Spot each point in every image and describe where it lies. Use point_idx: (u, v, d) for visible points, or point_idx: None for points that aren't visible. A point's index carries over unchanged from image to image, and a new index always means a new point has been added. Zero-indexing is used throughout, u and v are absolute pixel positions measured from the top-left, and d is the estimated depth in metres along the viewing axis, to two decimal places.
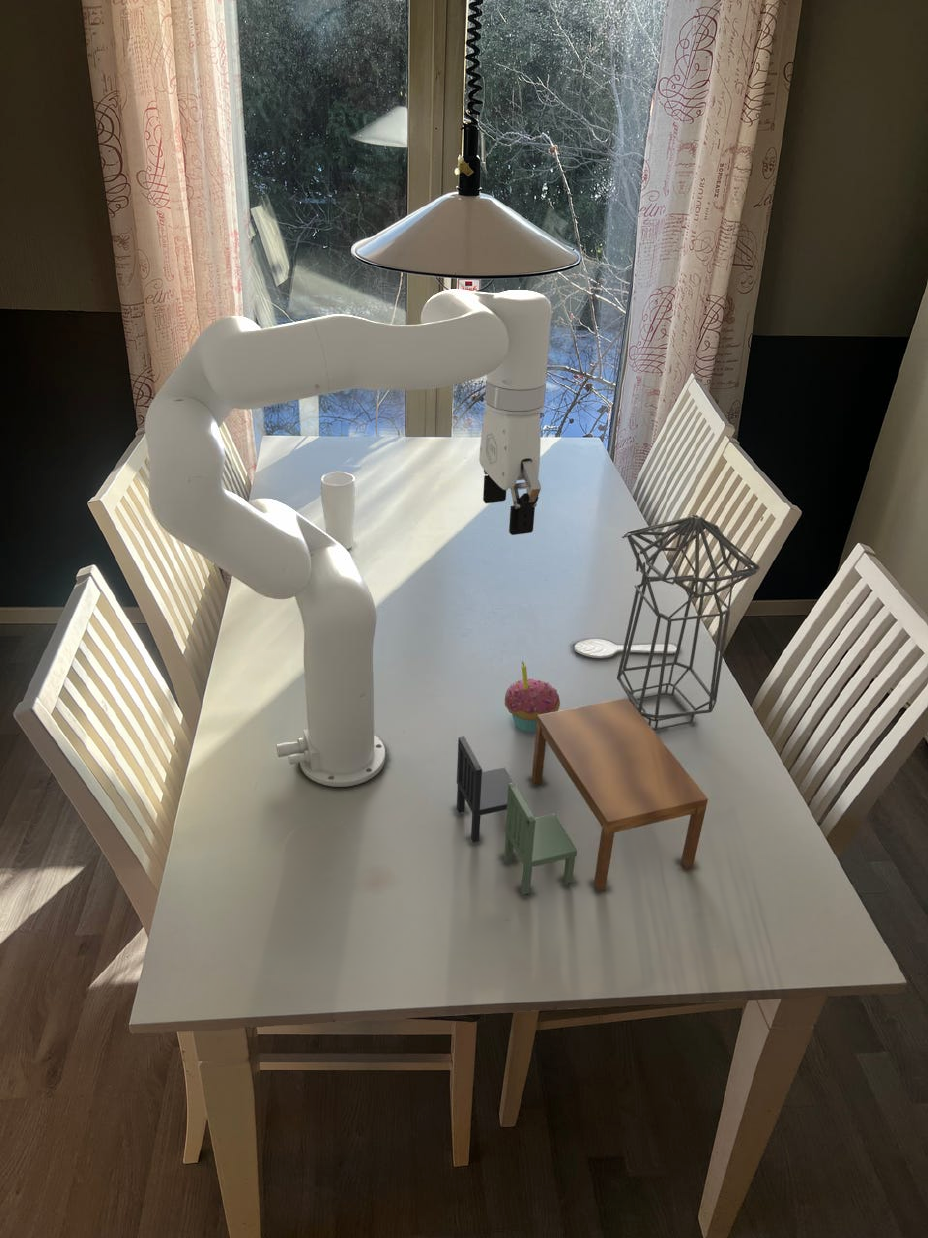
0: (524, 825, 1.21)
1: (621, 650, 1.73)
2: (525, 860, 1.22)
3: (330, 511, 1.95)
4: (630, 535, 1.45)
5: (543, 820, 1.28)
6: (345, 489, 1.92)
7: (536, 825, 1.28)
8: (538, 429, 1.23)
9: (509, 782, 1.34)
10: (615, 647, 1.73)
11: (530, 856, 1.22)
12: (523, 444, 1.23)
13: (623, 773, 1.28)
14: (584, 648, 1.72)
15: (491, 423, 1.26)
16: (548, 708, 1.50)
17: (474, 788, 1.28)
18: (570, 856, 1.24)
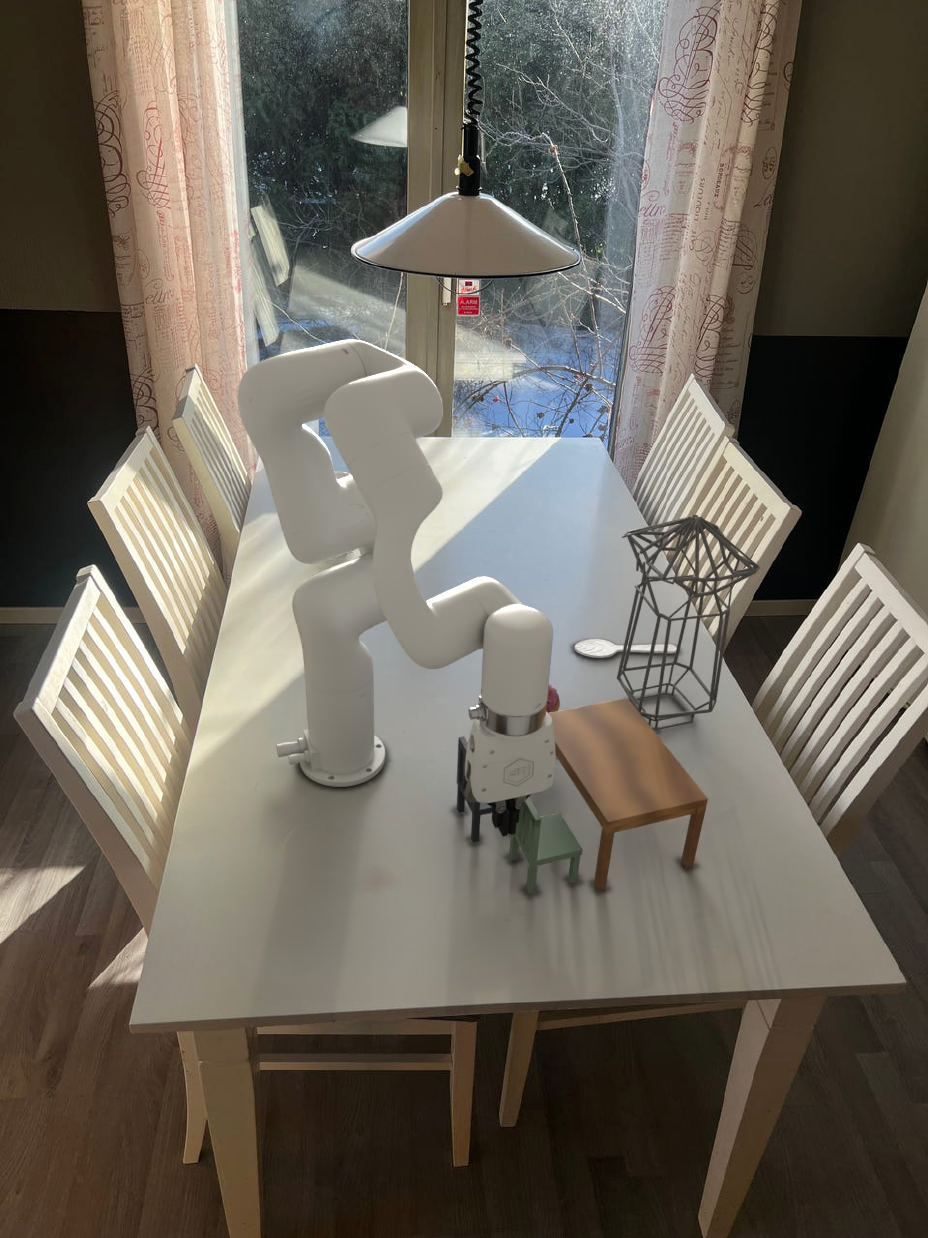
0: (529, 824, 1.21)
1: (621, 650, 1.73)
2: (530, 859, 1.22)
3: None
4: (630, 535, 1.45)
5: (548, 819, 1.29)
6: None
7: (541, 824, 1.28)
8: None
9: None
10: (615, 647, 1.73)
11: (535, 855, 1.22)
12: None
13: (623, 773, 1.28)
14: (584, 648, 1.72)
15: (516, 750, 1.12)
16: (548, 708, 1.50)
17: None
18: (575, 855, 1.24)
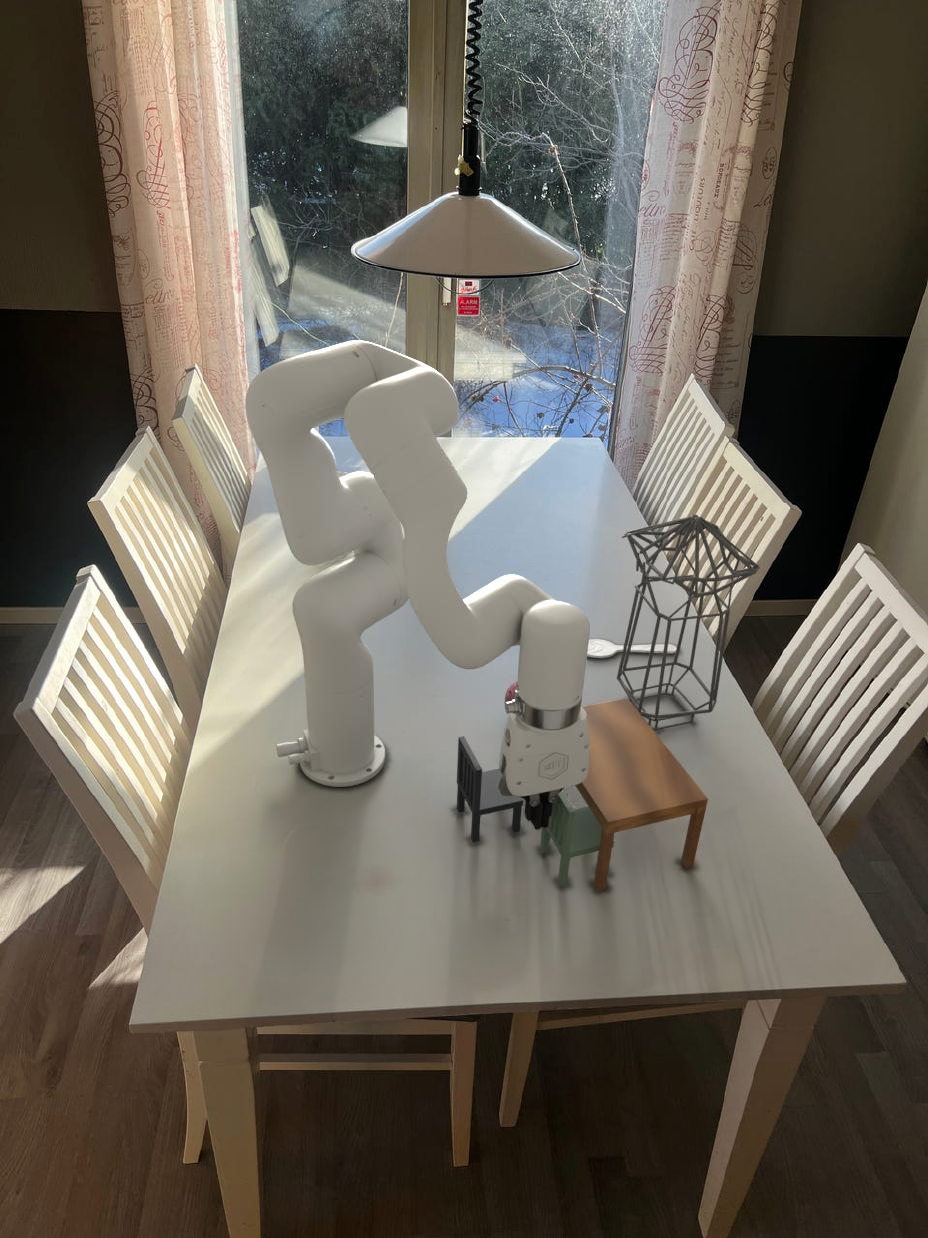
0: (562, 816, 1.23)
1: (621, 650, 1.73)
2: (563, 851, 1.24)
3: None
4: (630, 535, 1.45)
5: (579, 812, 1.30)
6: None
7: None
8: None
9: None
10: (615, 647, 1.73)
11: (568, 847, 1.23)
12: None
13: (623, 773, 1.28)
14: None
15: (552, 744, 1.14)
16: None
17: (474, 788, 1.28)
18: None
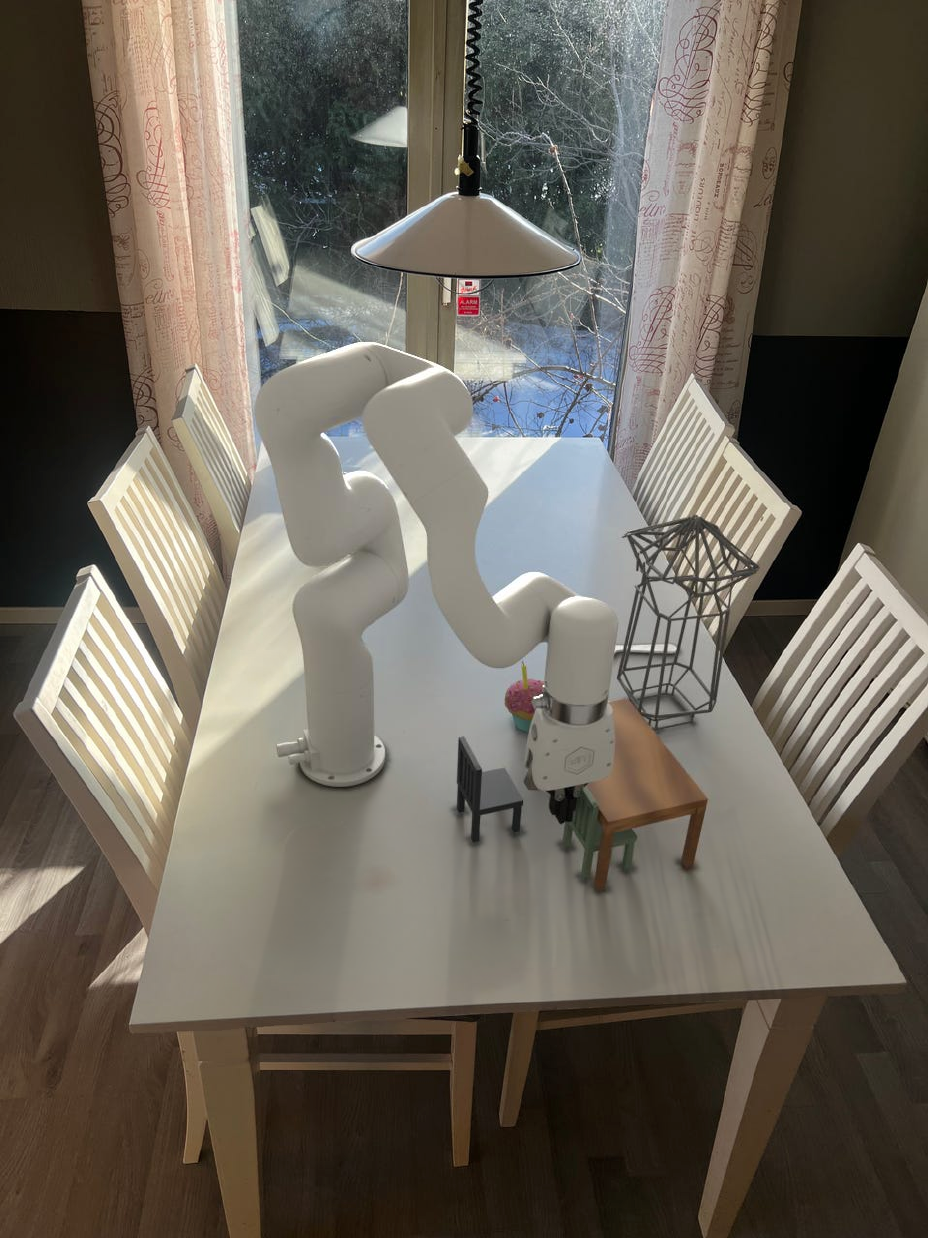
0: (586, 811, 1.24)
1: (621, 650, 1.73)
2: (587, 845, 1.25)
3: None
4: (630, 535, 1.45)
5: None
6: None
7: None
8: None
9: (509, 782, 1.34)
10: (615, 647, 1.73)
11: (592, 841, 1.24)
12: None
13: (623, 773, 1.28)
14: None
15: (578, 739, 1.15)
16: None
17: (474, 788, 1.28)
18: (630, 842, 1.27)
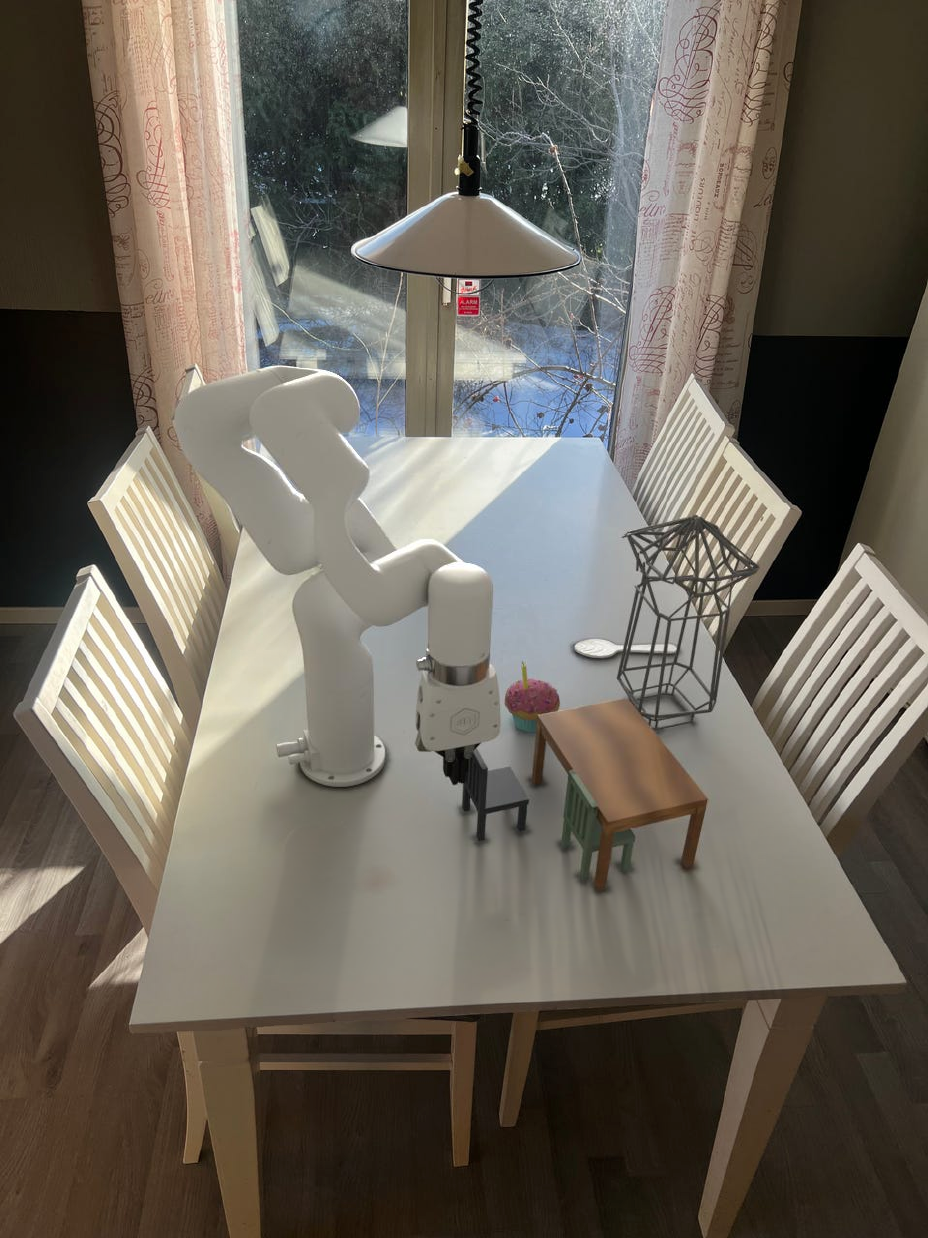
0: (585, 811, 1.23)
1: (621, 650, 1.73)
2: (585, 845, 1.24)
3: None
4: (630, 535, 1.45)
5: None
6: None
7: None
8: None
9: (514, 781, 1.35)
10: (615, 647, 1.73)
11: (591, 841, 1.24)
12: None
13: (623, 773, 1.28)
14: (584, 648, 1.72)
15: (462, 700, 1.19)
16: (548, 708, 1.50)
17: (480, 787, 1.28)
18: (629, 842, 1.27)
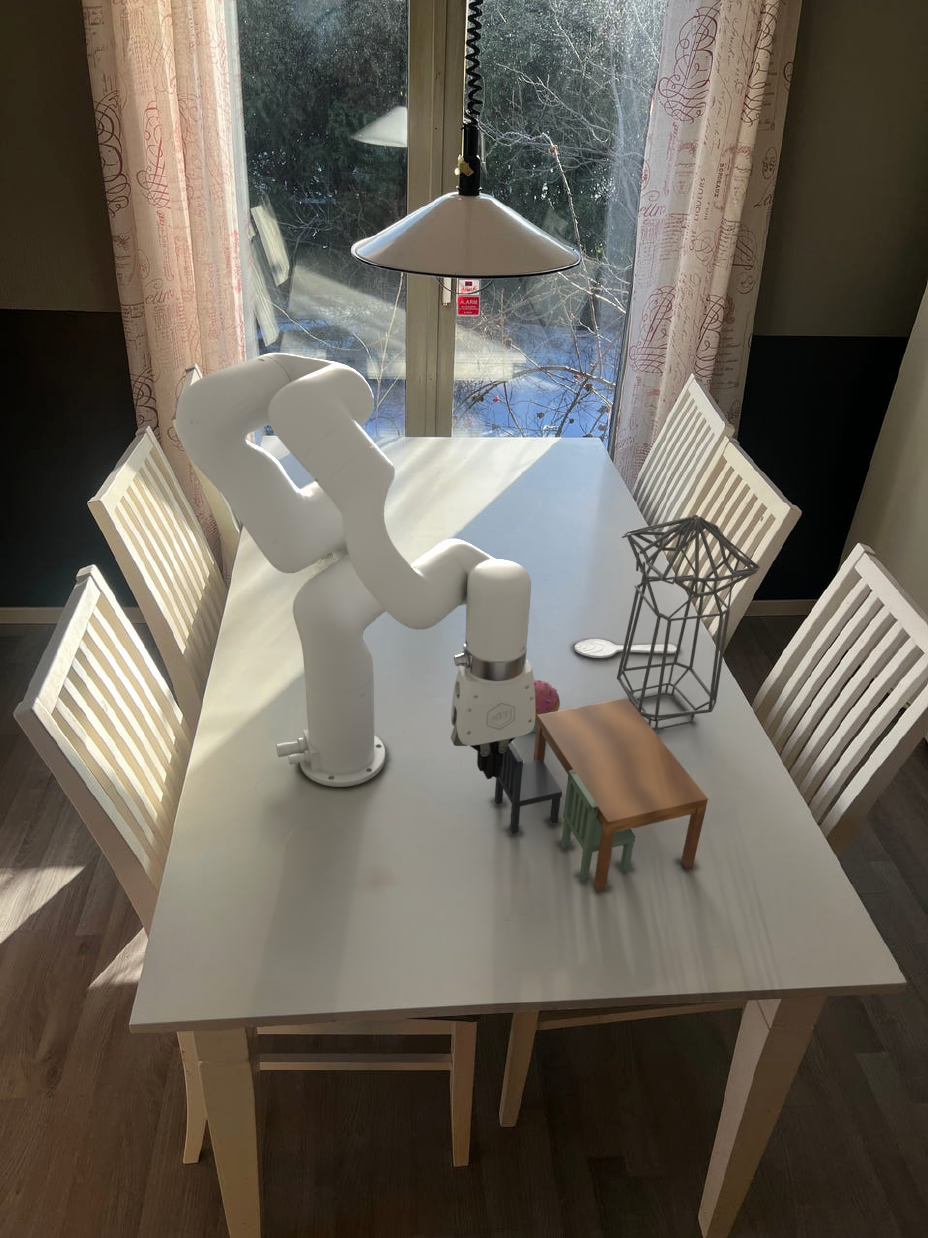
0: (585, 811, 1.23)
1: (621, 650, 1.73)
2: (585, 845, 1.24)
3: None
4: (630, 535, 1.45)
5: None
6: None
7: None
8: None
9: (547, 774, 1.36)
10: (615, 647, 1.73)
11: (591, 841, 1.24)
12: None
13: (623, 773, 1.28)
14: (584, 648, 1.72)
15: (498, 695, 1.21)
16: (548, 708, 1.50)
17: (515, 779, 1.29)
18: (629, 842, 1.27)
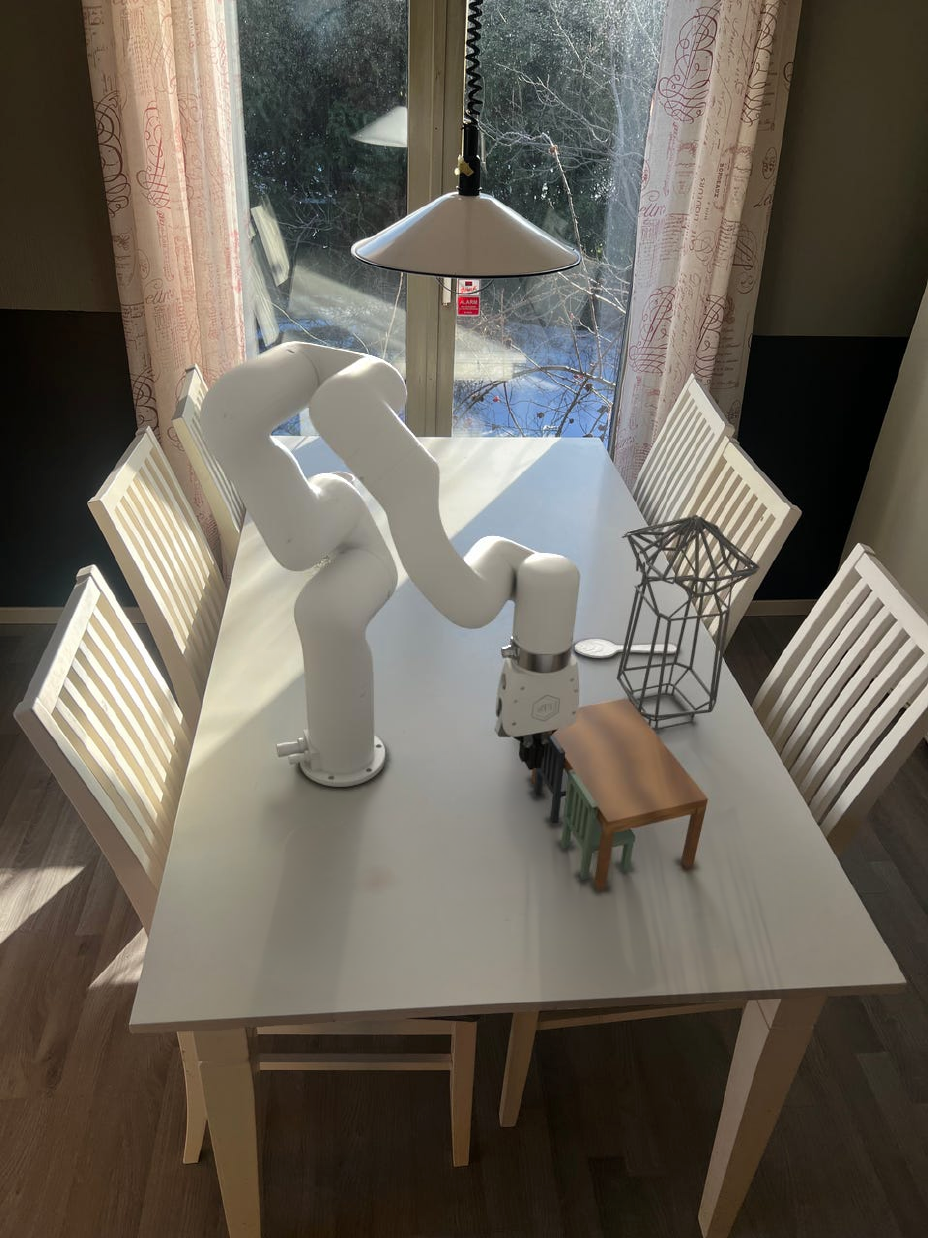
0: (585, 811, 1.23)
1: (621, 650, 1.73)
2: (585, 845, 1.24)
3: None
4: (630, 535, 1.45)
5: None
6: None
7: None
8: None
9: None
10: (615, 647, 1.73)
11: (591, 841, 1.24)
12: None
13: (623, 773, 1.28)
14: (584, 648, 1.72)
15: (544, 687, 1.23)
16: None
17: (556, 770, 1.31)
18: (629, 842, 1.27)
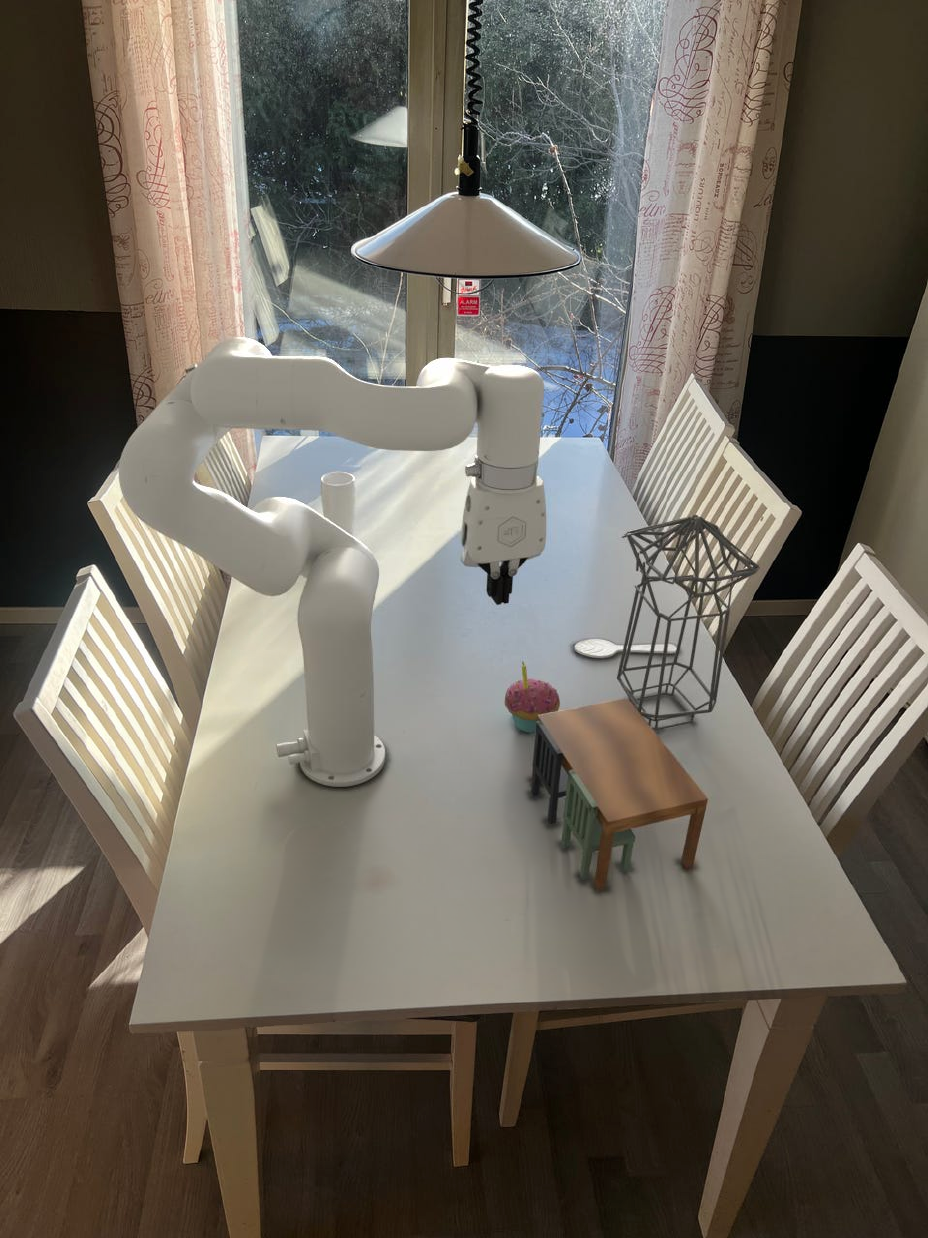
0: (585, 811, 1.23)
1: (621, 650, 1.73)
2: (585, 845, 1.24)
3: (330, 511, 1.95)
4: (630, 535, 1.45)
5: None
6: (345, 489, 1.92)
7: None
8: None
9: None
10: (615, 647, 1.73)
11: (591, 841, 1.24)
12: None
13: (623, 773, 1.28)
14: (584, 648, 1.72)
15: (510, 508, 1.20)
16: (548, 708, 1.50)
17: (554, 771, 1.31)
18: (629, 842, 1.27)
